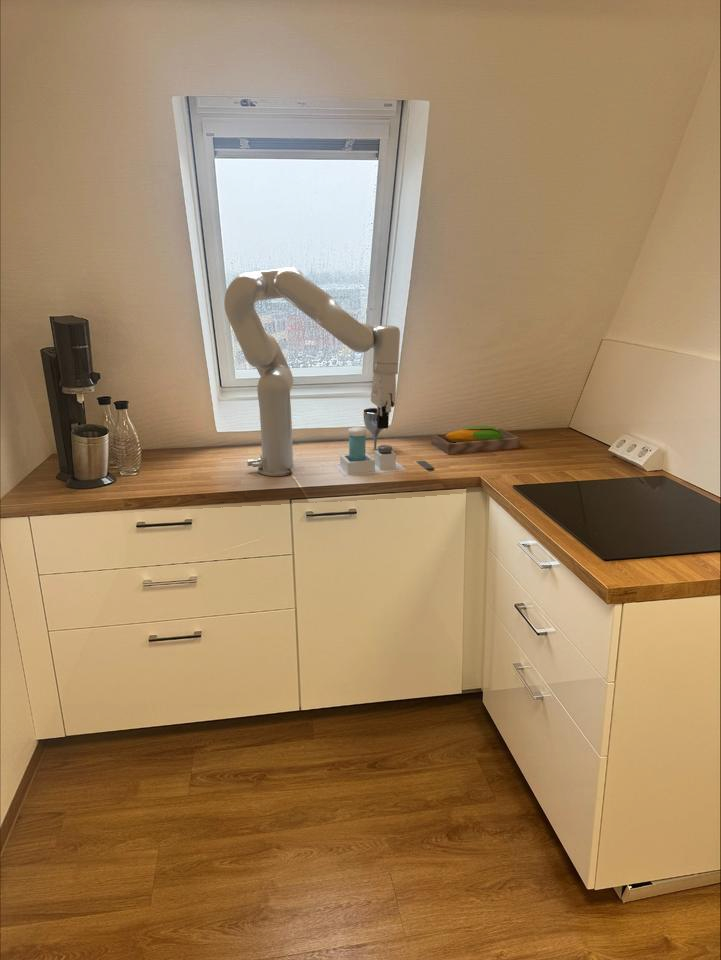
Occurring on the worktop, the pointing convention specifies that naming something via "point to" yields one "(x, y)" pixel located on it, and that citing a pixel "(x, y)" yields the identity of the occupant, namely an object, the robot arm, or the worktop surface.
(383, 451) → the plunger
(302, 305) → the robot arm
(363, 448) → the cylinder
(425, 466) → the mat
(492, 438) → the corn
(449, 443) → the brown rectangular tray
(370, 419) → the wine glass
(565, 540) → the worktop surface
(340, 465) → the housing
